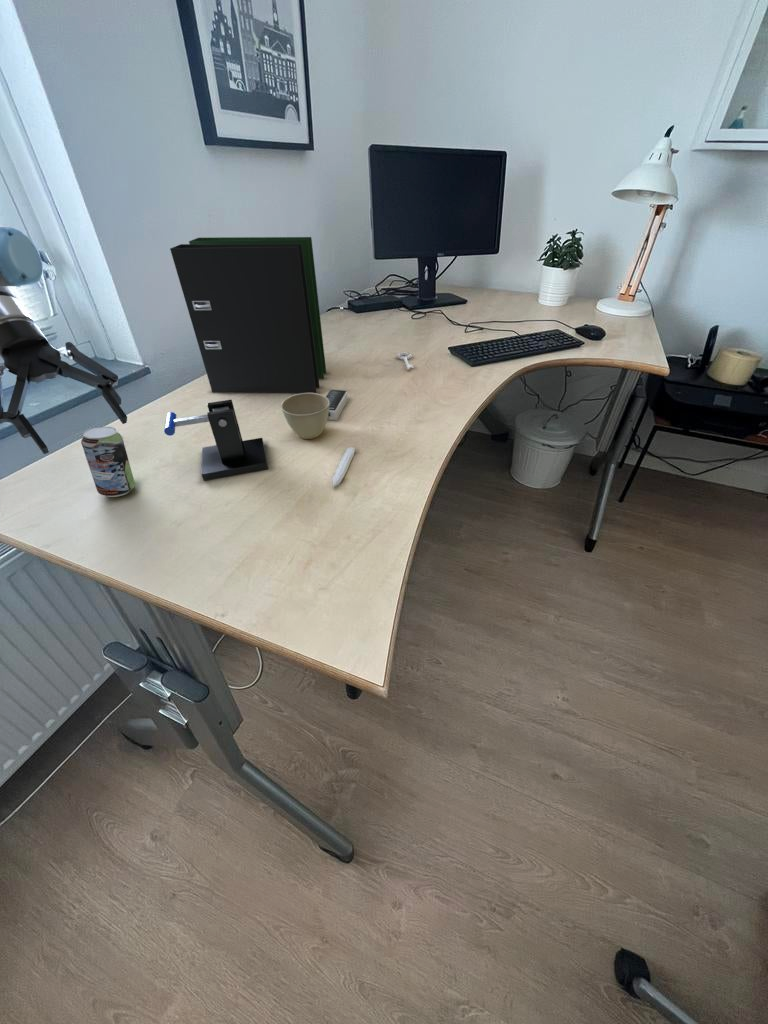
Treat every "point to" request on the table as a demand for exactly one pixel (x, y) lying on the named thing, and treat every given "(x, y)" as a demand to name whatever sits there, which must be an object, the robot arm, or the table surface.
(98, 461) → the beverage can
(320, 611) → the table surface
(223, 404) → the bracket
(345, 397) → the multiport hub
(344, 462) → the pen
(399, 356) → the key
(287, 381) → the binder
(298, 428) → the flower pot
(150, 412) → the table surface
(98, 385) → the robot arm
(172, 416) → the lever
